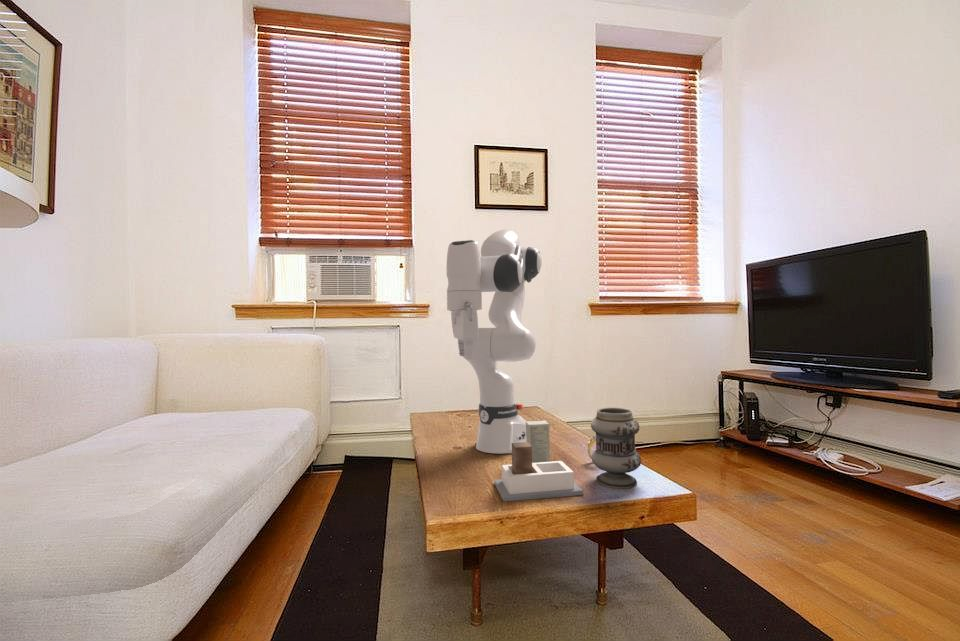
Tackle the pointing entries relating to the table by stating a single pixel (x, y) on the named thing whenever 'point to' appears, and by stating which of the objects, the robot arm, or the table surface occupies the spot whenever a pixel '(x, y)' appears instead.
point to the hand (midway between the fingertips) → (465, 357)
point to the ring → (590, 444)
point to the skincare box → (538, 440)
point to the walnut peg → (521, 458)
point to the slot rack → (538, 482)
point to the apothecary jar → (615, 447)
